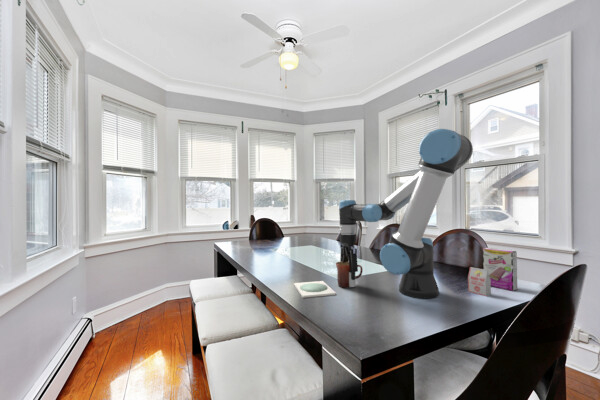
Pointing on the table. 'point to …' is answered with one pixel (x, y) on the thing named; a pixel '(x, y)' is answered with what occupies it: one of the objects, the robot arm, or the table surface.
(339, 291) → the table surface
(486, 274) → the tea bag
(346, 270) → the mug
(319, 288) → the card
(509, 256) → the candy bar box
